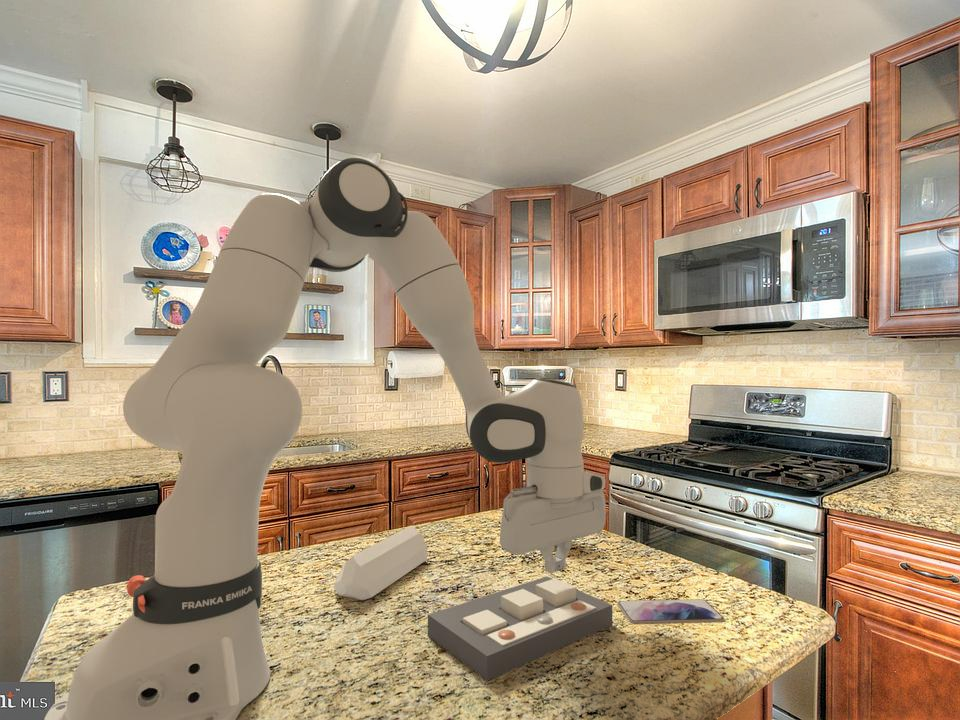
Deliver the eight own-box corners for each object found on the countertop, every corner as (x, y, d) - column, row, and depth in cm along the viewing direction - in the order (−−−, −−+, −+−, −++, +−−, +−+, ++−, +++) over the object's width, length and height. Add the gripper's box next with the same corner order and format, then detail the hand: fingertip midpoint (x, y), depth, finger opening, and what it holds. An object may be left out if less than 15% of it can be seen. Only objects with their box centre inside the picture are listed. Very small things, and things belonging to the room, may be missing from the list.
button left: (481, 652, 71) (481, 630, 71) (462, 639, 74) (462, 617, 74) (506, 642, 73) (506, 620, 73) (487, 630, 77) (487, 609, 77)
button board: (487, 680, 65) (487, 652, 65) (427, 635, 76) (427, 611, 76) (612, 625, 80) (612, 602, 80) (547, 593, 91) (547, 573, 91)
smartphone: (726, 619, 81) (630, 621, 80) (726, 624, 81) (630, 626, 80) (704, 598, 88) (616, 600, 87) (704, 603, 88) (616, 605, 87)
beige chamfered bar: (373, 584, 85) (440, 541, 107) (341, 557, 88) (414, 520, 110) (353, 620, 87) (424, 570, 109) (323, 592, 89) (398, 548, 111)
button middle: (520, 627, 75) (520, 606, 75) (501, 616, 78) (501, 596, 79) (543, 619, 78) (543, 598, 78) (523, 608, 81) (523, 588, 81)
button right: (555, 614, 79) (555, 594, 79) (535, 604, 83) (535, 584, 83) (575, 606, 82) (575, 587, 82) (555, 596, 85) (555, 578, 85)
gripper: (518, 494, 74) (518, 594, 74) (612, 477, 86) (612, 562, 86) (490, 486, 79) (490, 579, 79) (583, 471, 91) (583, 551, 91)
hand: (555, 570), depth 83 cm, fingers closed
